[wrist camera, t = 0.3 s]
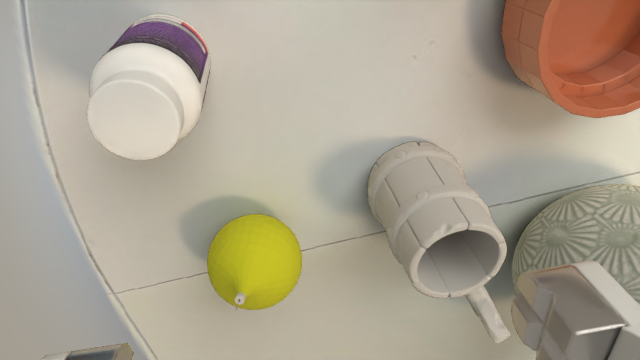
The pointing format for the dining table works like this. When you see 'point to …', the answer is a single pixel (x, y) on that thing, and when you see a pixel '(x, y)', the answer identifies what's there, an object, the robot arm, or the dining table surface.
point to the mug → (438, 227)
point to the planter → (586, 234)
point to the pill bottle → (149, 88)
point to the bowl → (577, 52)
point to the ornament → (254, 261)
